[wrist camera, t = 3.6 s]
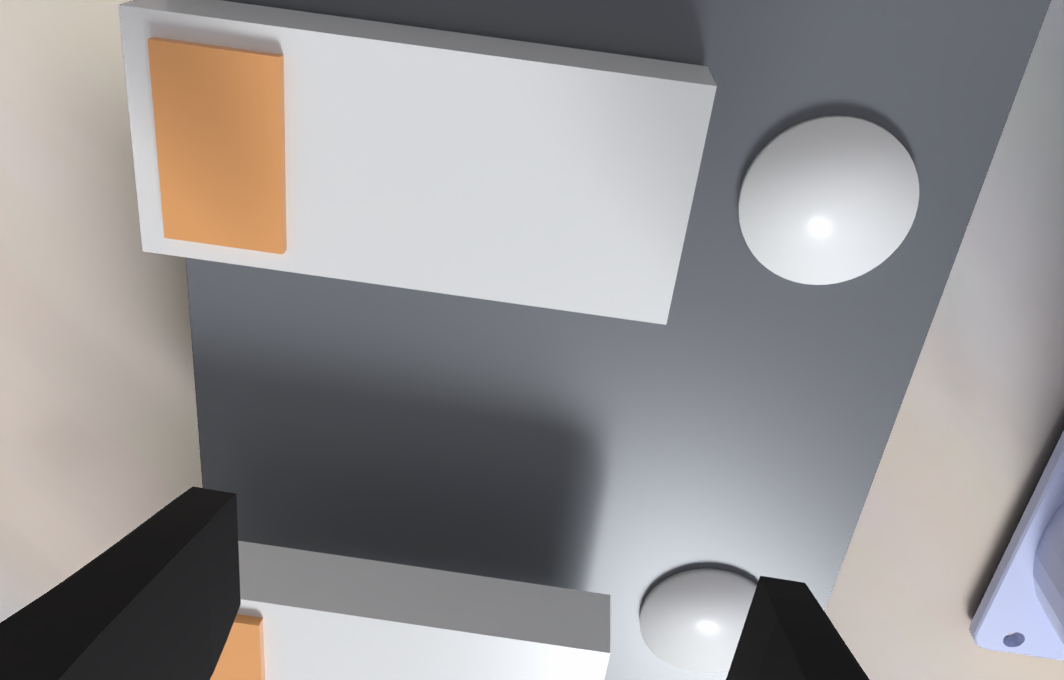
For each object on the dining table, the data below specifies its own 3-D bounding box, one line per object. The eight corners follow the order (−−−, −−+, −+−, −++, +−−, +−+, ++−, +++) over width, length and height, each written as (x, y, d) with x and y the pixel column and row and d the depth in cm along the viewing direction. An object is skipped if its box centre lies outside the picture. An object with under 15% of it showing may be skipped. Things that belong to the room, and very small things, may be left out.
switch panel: (1264, -877, 12) (1475, -1119, 9) (755, 656, 25) (773, 757, 22) (195, -1004, 12) (62, -1279, 9) (258, 583, 25) (213, 674, 22)
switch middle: (707, 66, 15) (717, 89, 13) (662, 288, 16) (666, 330, 15) (162, -8, 15) (111, 7, 13) (180, 220, 17) (137, 255, 15)
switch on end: (610, 594, 18) (609, 661, 16) (581, 729, 20) (579, 800, 18) (165, 529, 18) (124, 590, 16) (179, 669, 20) (143, 735, 18)
